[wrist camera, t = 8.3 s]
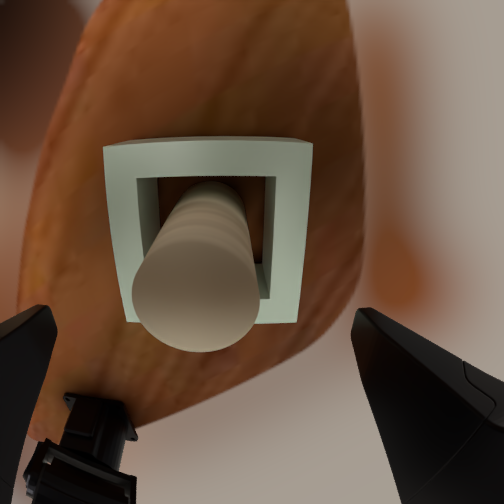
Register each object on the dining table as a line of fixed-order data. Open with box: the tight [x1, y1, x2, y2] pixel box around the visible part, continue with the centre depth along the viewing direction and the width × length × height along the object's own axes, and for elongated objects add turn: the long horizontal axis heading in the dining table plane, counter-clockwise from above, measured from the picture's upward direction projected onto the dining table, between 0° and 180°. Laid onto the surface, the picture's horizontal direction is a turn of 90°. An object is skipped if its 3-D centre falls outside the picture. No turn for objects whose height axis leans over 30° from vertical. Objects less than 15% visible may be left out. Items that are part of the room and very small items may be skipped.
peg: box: [132, 181, 260, 352], centre depth 13 cm, size 4×4×9 cm
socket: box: [103, 136, 313, 324], centre depth 16 cm, size 9×9×4 cm
